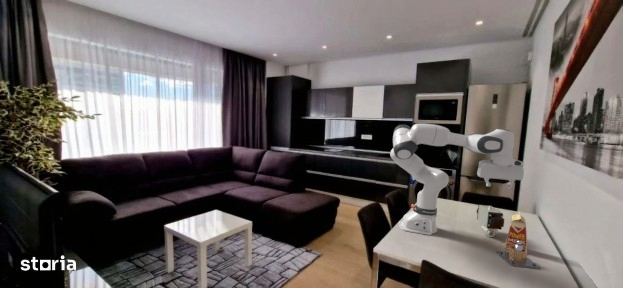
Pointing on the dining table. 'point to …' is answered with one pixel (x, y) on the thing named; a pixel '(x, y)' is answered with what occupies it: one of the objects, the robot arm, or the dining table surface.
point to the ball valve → (490, 219)
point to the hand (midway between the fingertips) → (498, 187)
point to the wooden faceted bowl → (517, 254)
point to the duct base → (515, 263)
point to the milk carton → (517, 232)
